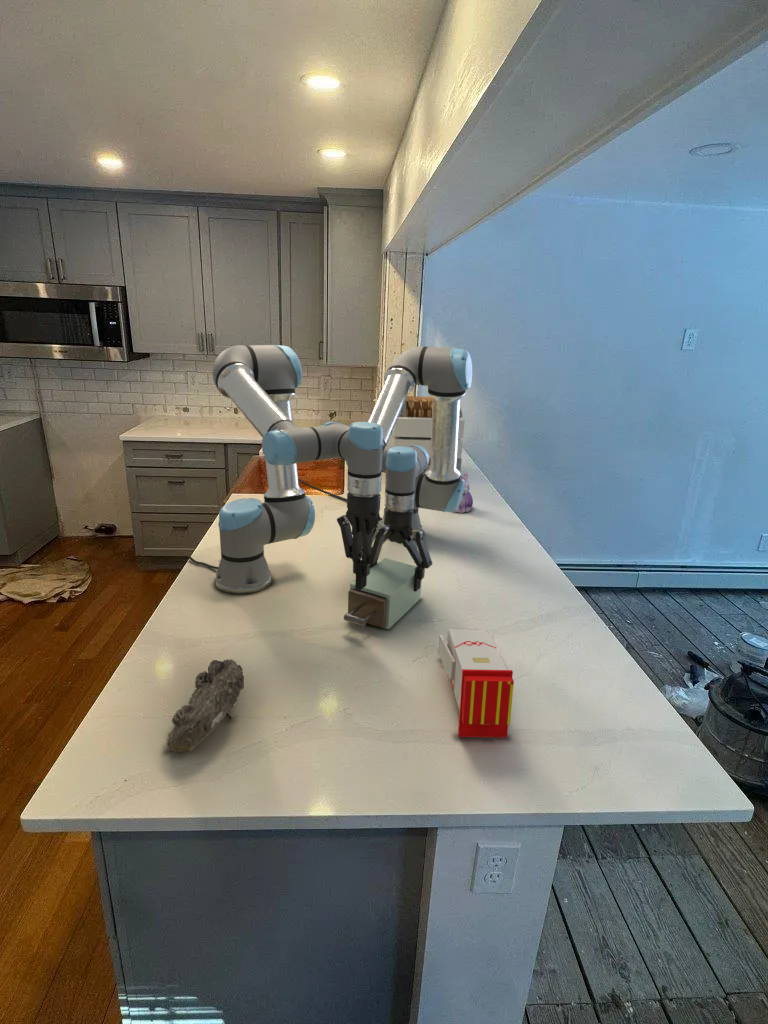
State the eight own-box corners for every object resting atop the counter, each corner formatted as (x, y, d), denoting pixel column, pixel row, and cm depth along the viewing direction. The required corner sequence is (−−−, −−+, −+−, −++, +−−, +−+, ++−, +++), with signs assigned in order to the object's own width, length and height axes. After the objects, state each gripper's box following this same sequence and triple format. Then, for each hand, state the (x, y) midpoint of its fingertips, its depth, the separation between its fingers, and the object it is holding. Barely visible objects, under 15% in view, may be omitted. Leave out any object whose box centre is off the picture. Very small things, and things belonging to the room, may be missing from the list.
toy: (488, 613, 130) (523, 677, 101) (484, 667, 133) (517, 744, 104) (435, 612, 130) (455, 676, 101) (432, 666, 133) (451, 743, 103)
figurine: (459, 514, 221) (463, 477, 216) (445, 506, 229) (448, 470, 224) (479, 511, 225) (483, 475, 220) (464, 503, 234) (467, 468, 228)
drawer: (371, 639, 134) (372, 611, 131) (335, 627, 138) (335, 600, 136) (413, 599, 153) (415, 575, 150) (380, 590, 157) (381, 565, 155)
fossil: (192, 660, 117) (244, 628, 112) (224, 691, 120) (276, 661, 115) (142, 746, 98) (202, 712, 93) (182, 779, 101) (242, 748, 96)
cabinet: (388, 629, 140) (390, 595, 137) (349, 616, 145) (350, 583, 142) (420, 599, 156) (422, 567, 152) (383, 588, 161) (385, 557, 157)
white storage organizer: (382, 463, 289) (386, 382, 275) (445, 464, 293) (451, 384, 279) (390, 482, 257) (394, 392, 243) (460, 483, 261) (468, 394, 247)
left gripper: (330, 491, 126) (329, 586, 134) (381, 502, 121) (377, 600, 129) (348, 483, 133) (346, 574, 141) (397, 493, 127) (392, 587, 135)
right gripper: (350, 502, 147) (348, 576, 154) (437, 522, 136) (430, 600, 144) (364, 495, 153) (362, 567, 161) (449, 513, 143) (442, 589, 150)
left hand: (360, 586), depth 135 cm, fingers closed
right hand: (394, 583), depth 152 cm, fingers open, 12 cm apart
